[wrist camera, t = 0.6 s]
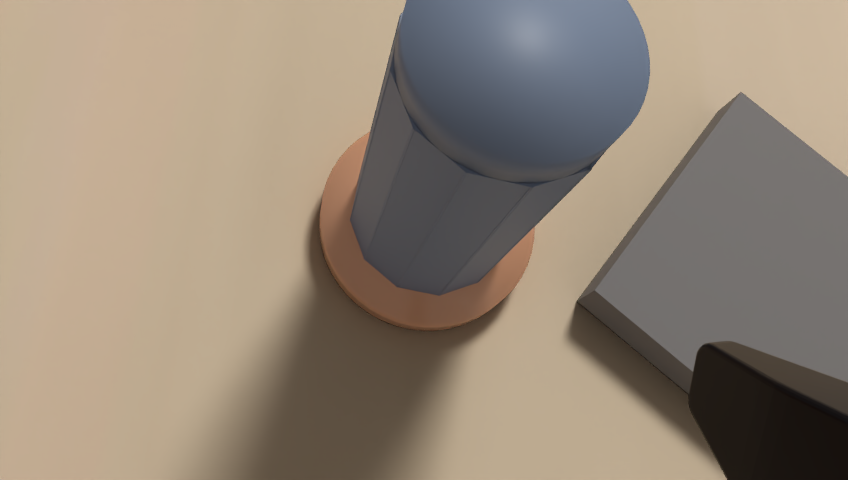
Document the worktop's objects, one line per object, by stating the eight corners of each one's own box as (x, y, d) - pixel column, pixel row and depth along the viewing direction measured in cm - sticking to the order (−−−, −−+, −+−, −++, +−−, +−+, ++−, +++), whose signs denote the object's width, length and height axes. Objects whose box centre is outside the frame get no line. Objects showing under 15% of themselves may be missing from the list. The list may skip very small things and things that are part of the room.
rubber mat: (927, 278, 27) (961, 267, 26) (813, 497, 24) (846, 499, 23) (718, 111, 28) (741, 92, 27) (576, 301, 25) (594, 290, 23)
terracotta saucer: (563, 221, 25) (627, 164, 21) (440, 375, 23) (481, 350, 18) (410, 95, 26) (438, 10, 21) (273, 233, 23) (271, 172, 19)
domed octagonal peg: (534, 213, 24) (695, 45, 15) (442, 326, 22) (557, 217, 13) (419, 117, 24) (504, -106, 15) (318, 221, 23) (345, 41, 13)
